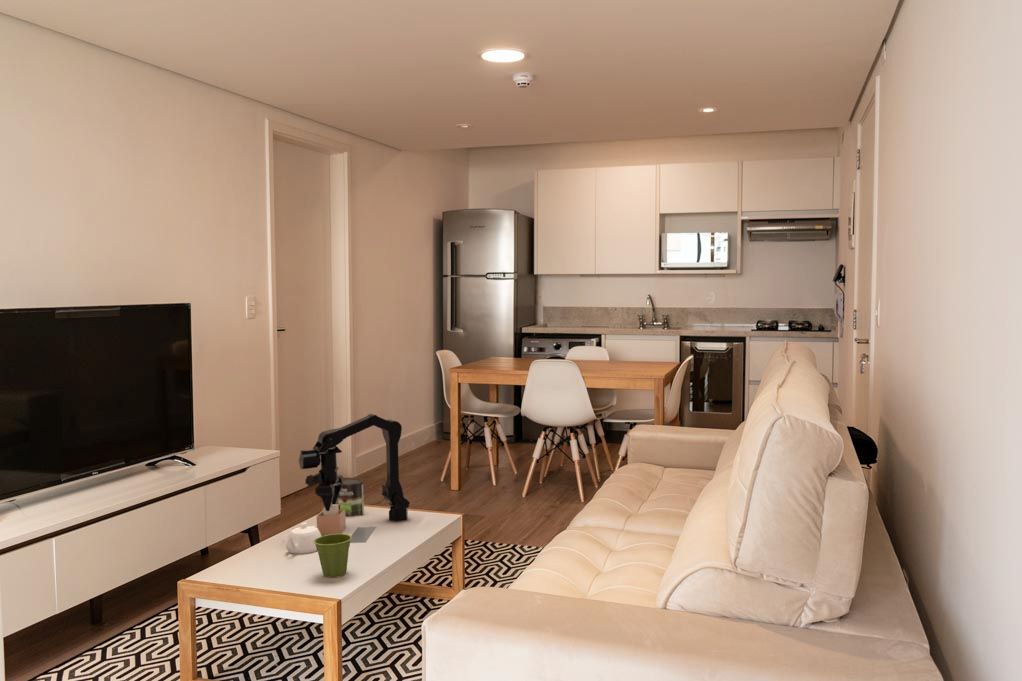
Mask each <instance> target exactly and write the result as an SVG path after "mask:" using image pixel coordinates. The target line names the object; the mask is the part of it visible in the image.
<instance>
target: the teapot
mask: <svg viewBox="0 0 1022 681" xmlns="http://www.w3.org/2000/svg"><path fill="white" fill-rule="evenodd" d="M300 525H301V526H299V527H296V528H294V529H291V530H290V531H289V532H290V533H289V534H288V536H287V540H286V543H285V548H286V550H287V552H289V553H290V554H296V555H300V554H302V555H304V554H310V553H314V552H318V551H317V548H316V545H315V544H314V542H313V541H314V540H315V539H316V538H318V537H321V536H322V535H321V534H320V531H319V530H318V527H317V525H311V526H310V525H308V523H307V522H302V523H300Z"/></svg>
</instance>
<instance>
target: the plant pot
mask: <svg viewBox="0 0 1022 681" xmlns="http://www.w3.org/2000/svg"><path fill="white" fill-rule="evenodd" d="M351 539H352V534H348V533H341V534H330V535H321V537H318V538H316V539H315V540H314V541H313V542H314V544H315V545H316V548H317V551H316V552H317V553H318V558H319V562H320V566H321V570H322V575H323V577H326V578H328V577H329V578H338V577H343V576H344V575H345V574H347V571H348V561H349V553H350V552H349V551H350V545H351V543H350V540H351Z"/></svg>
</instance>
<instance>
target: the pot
mask: <svg viewBox="0 0 1022 681" xmlns="http://www.w3.org/2000/svg"><path fill="white" fill-rule="evenodd" d="M346 521H347V520H346V517H345V510H339V515H333V516H323V509H322V510H321V511H320V512H319V513H318V514H317V515H316V526H317V527H318V530H319V531H320V534H321V536H325V535H330V534H343V532H344V531H345V529H346V528H347V525H346V523H347V522H346Z"/></svg>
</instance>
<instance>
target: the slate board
mask: <svg viewBox="0 0 1022 681" xmlns="http://www.w3.org/2000/svg"><path fill="white" fill-rule="evenodd" d="M376 529H377V526H357V527H356V529H355V530H354V531H353V532H352V534H351V536H352V539H351V540H350V544H357V543H358V544H361V543H367V542H368V540H369V539H370V537H371V536H372V534H374V531H375V530H376Z"/></svg>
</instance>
